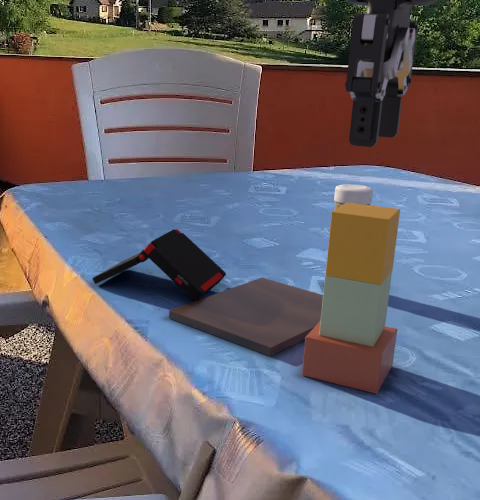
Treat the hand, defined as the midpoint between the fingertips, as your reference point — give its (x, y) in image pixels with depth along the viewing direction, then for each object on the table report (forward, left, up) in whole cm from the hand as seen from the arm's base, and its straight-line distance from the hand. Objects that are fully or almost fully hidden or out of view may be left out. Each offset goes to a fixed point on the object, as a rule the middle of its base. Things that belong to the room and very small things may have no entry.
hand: (374, 140), depth 63 cm
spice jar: (-22, -13, -23) cm, 34 cm away
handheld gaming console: (-5, -27, -17) cm, 32 cm away
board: (-6, -14, -22) cm, 27 cm away
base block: (0, 0, -22) cm, 22 cm away
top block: (0, 0, -12) cm, 12 cm away
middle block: (0, 0, -18) cm, 18 cm away
